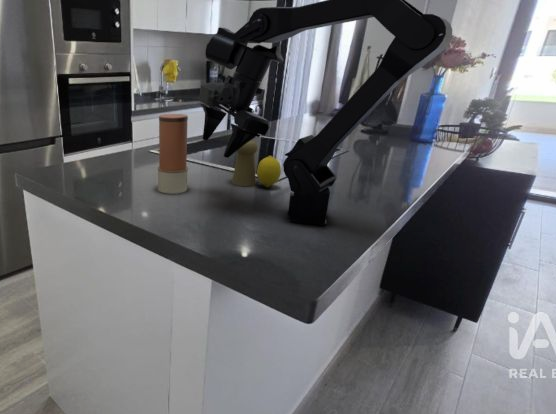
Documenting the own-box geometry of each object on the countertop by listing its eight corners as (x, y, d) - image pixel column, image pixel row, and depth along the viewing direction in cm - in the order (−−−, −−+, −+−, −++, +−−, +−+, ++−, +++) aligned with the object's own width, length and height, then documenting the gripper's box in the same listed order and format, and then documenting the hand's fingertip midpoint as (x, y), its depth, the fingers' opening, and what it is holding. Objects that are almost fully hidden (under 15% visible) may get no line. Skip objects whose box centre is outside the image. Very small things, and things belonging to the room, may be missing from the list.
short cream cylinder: (190, 186, 97) (191, 165, 95) (182, 195, 90) (183, 172, 89) (163, 183, 99) (163, 163, 97) (153, 192, 93) (153, 170, 91)
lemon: (255, 189, 94) (258, 157, 91) (256, 183, 99) (258, 152, 96) (279, 191, 92) (282, 158, 89) (278, 184, 97) (282, 153, 94)
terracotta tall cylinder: (189, 165, 95) (190, 114, 90) (182, 172, 89) (183, 117, 85) (163, 163, 97) (163, 113, 93) (155, 170, 91) (155, 117, 87)
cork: (258, 186, 96) (262, 142, 92) (234, 186, 96) (237, 143, 93) (252, 179, 102) (256, 138, 98) (229, 179, 102) (232, 138, 98)
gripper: (194, 54, 79) (166, 124, 86) (243, 77, 65) (205, 159, 71) (234, 70, 85) (205, 135, 91) (288, 95, 70) (249, 169, 77)
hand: (214, 148), depth 82 cm, fingers open, 9 cm apart
